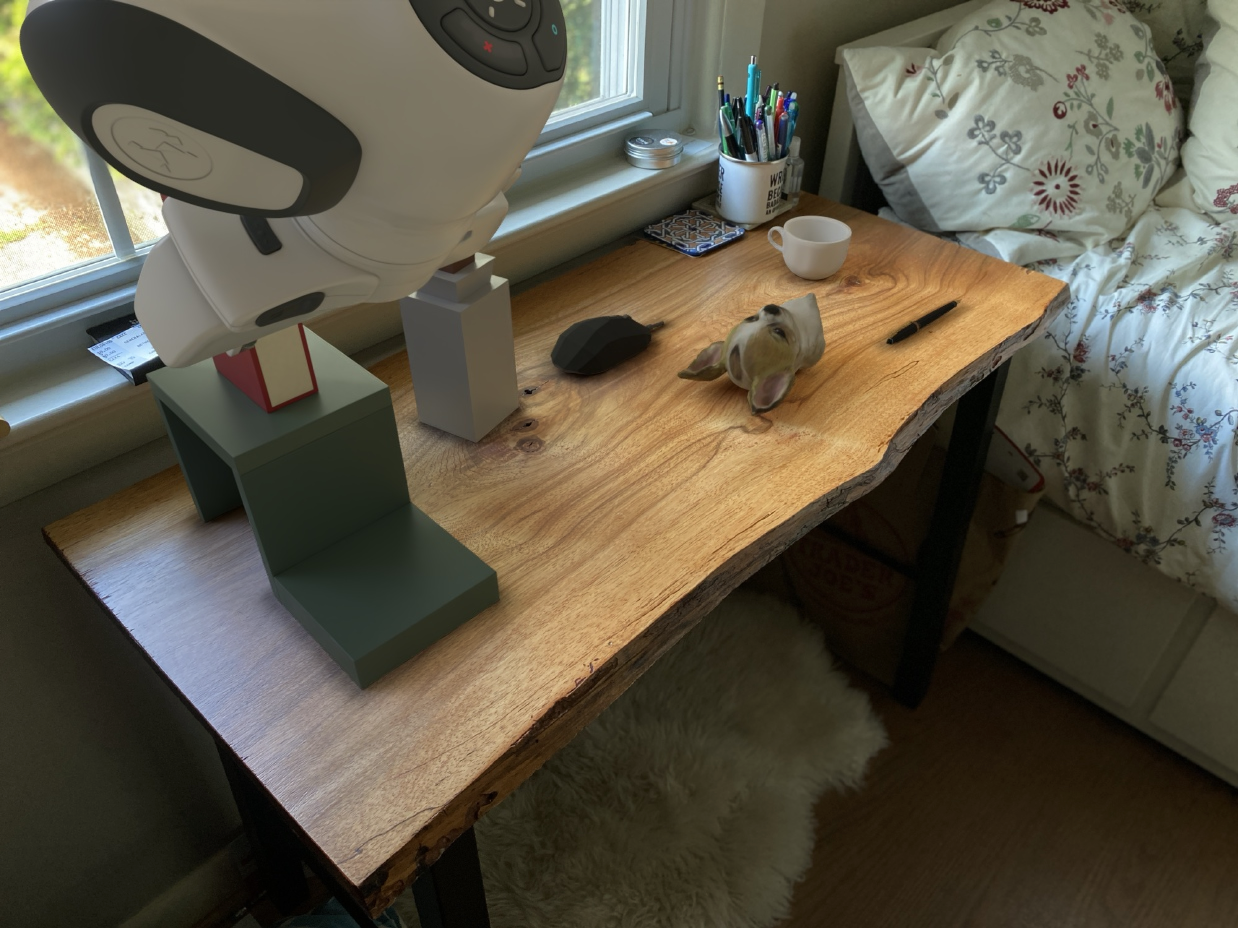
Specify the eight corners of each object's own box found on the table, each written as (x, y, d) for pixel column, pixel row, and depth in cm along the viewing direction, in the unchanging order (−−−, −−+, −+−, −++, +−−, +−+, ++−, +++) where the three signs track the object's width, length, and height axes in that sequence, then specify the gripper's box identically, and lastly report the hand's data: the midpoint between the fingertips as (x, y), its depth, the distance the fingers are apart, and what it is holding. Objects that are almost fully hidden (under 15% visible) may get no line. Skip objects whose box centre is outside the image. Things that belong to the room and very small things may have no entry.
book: (268, 414, 65) (213, 224, 56) (215, 369, 69) (157, 187, 60) (319, 391, 67) (274, 205, 58) (265, 349, 71) (215, 171, 63)
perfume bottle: (476, 443, 85) (454, 262, 74) (419, 421, 88) (389, 244, 77) (519, 406, 90) (504, 231, 79) (463, 386, 92) (441, 214, 81)
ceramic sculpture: (861, 296, 88) (762, 364, 81) (851, 371, 94) (757, 441, 86) (771, 261, 94) (671, 321, 87) (767, 334, 100) (672, 396, 92)
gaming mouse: (683, 335, 100) (685, 302, 98) (578, 387, 92) (577, 352, 90) (643, 314, 104) (643, 281, 101) (538, 361, 96) (536, 328, 94)
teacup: (854, 267, 113) (861, 225, 109) (829, 292, 108) (836, 249, 104) (779, 247, 117) (783, 206, 113) (751, 271, 112) (755, 229, 108)
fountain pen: (956, 302, 106) (959, 290, 105) (965, 306, 105) (968, 294, 104) (880, 346, 98) (882, 334, 97) (889, 351, 98) (892, 338, 97)
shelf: (361, 690, 63) (320, 540, 55) (198, 515, 77) (145, 374, 69) (500, 599, 70) (483, 452, 61) (326, 454, 84) (292, 317, 75)
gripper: (503, 100, 51) (422, 217, 62) (125, 207, 39) (112, 326, 51) (561, 202, 51) (470, 300, 62) (201, 337, 40) (171, 426, 51)
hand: (306, 312), depth 57 cm, fingers open, 8 cm apart
